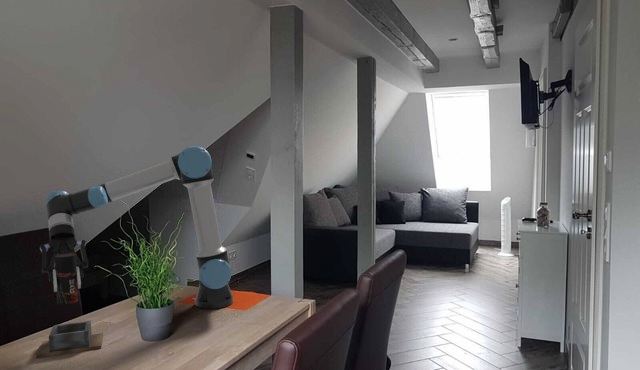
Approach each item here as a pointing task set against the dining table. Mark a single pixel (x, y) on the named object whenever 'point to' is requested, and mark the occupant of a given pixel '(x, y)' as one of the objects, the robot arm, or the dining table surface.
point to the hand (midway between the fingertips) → (67, 287)
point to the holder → (70, 339)
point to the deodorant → (66, 278)
